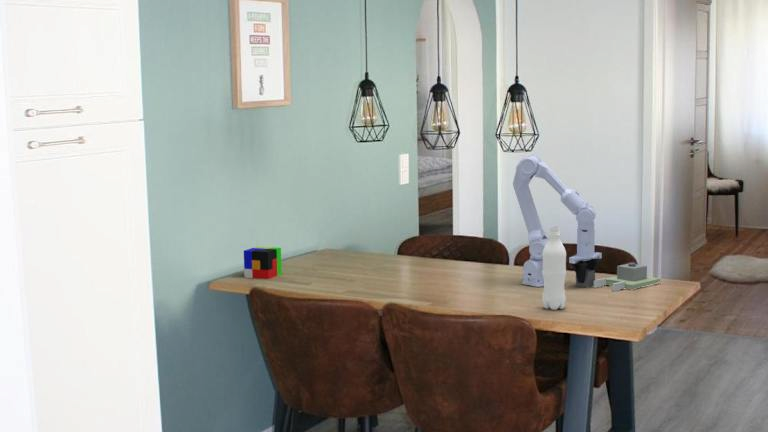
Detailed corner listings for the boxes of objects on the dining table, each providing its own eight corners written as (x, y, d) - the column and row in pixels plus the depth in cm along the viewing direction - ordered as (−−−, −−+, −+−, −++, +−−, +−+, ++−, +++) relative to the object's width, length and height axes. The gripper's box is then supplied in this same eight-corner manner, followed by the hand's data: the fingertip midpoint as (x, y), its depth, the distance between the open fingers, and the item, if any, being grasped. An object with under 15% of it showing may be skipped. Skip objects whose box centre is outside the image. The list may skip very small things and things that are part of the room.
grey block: (587, 287, 320) (587, 271, 320) (575, 285, 324) (575, 269, 323) (595, 286, 323) (595, 270, 322) (583, 284, 327) (583, 268, 326)
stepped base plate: (621, 292, 312) (621, 271, 311) (589, 286, 322) (589, 265, 321) (660, 283, 325) (660, 262, 324) (628, 278, 335) (629, 258, 334)
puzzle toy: (244, 277, 349) (243, 250, 348) (258, 272, 359) (257, 246, 357) (268, 279, 346) (267, 251, 344) (281, 274, 355) (280, 247, 354)
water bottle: (551, 311, 287) (552, 229, 283) (537, 307, 293) (537, 226, 290) (570, 308, 290) (571, 227, 287) (556, 304, 296) (556, 224, 293)
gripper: (581, 245, 314) (580, 286, 316) (609, 241, 323) (608, 280, 325) (564, 243, 319) (564, 283, 321) (592, 238, 328) (592, 277, 330)
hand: (585, 281), depth 323 cm, fingers closed on grey block, 4 cm apart
